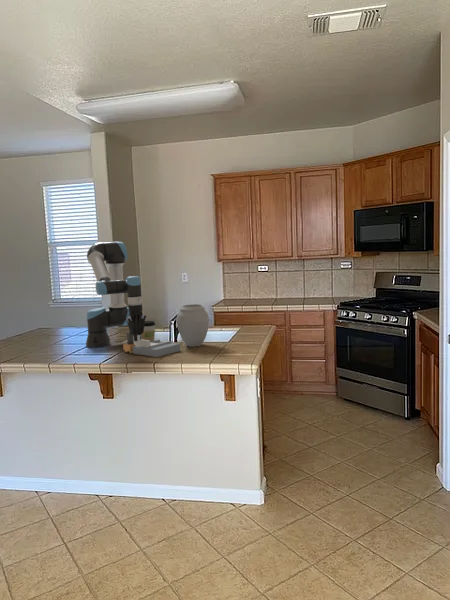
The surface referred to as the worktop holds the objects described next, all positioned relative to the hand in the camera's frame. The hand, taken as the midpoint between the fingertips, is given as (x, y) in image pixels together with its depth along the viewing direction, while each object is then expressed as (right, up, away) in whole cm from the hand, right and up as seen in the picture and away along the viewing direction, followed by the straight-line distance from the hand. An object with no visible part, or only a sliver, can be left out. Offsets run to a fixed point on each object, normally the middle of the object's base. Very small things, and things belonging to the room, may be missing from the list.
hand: (137, 346), depth 256 cm
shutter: (+5, 0, +7) cm, 9 cm away
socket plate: (+9, -4, +8) cm, 13 cm away
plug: (-6, -4, +12) cm, 14 cm away
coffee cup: (+2, -3, +26) cm, 26 cm away
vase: (+30, -2, +21) cm, 36 cm away
